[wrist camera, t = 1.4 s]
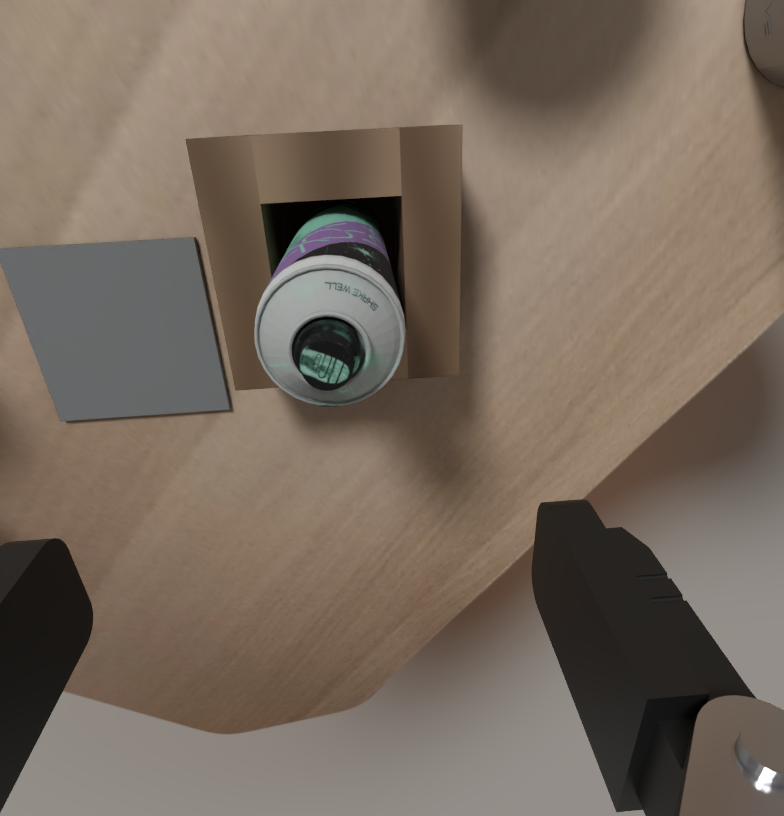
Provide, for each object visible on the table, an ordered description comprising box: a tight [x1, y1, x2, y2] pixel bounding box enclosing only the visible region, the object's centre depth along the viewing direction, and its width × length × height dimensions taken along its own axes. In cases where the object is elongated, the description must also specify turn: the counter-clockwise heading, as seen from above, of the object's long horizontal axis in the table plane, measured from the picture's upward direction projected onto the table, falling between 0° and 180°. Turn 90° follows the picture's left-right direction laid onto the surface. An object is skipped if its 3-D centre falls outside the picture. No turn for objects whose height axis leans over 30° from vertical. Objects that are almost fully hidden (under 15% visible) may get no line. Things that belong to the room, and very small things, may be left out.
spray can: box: [254, 200, 406, 407], centre depth 26 cm, size 6×6×20 cm
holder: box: [186, 125, 462, 390], centre depth 31 cm, size 13×13×7 cm
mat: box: [0, 237, 231, 421], centre depth 36 cm, size 12×12×1 cm
